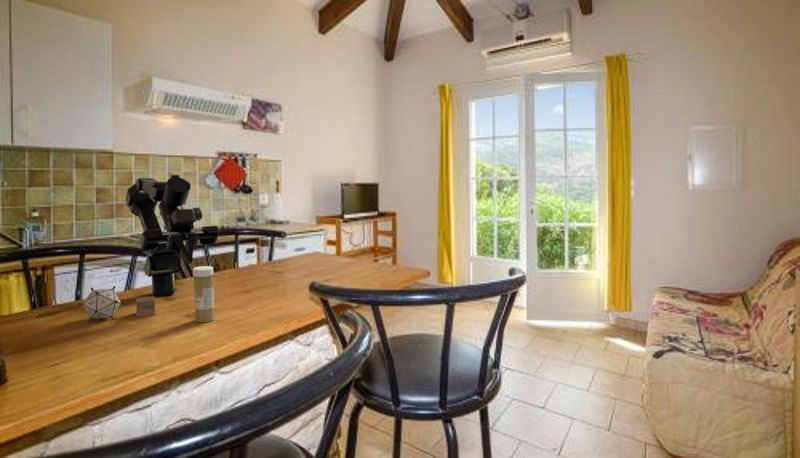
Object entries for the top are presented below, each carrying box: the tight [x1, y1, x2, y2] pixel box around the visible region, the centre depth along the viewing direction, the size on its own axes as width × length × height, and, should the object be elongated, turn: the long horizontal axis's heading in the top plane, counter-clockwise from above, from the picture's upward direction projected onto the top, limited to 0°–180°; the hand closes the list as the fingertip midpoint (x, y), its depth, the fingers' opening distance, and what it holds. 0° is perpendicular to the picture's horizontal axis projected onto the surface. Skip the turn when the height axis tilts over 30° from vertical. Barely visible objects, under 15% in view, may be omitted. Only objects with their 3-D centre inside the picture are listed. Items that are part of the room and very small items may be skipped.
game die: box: [77, 285, 125, 323], centre depth 103 cm, size 9×8×10 cm
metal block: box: [135, 296, 156, 318], centre depth 107 cm, size 4×4×4 cm
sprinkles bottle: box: [192, 265, 216, 323], centre depth 102 cm, size 5×5×14 cm
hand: (190, 262), depth 108 cm, fingers closed
